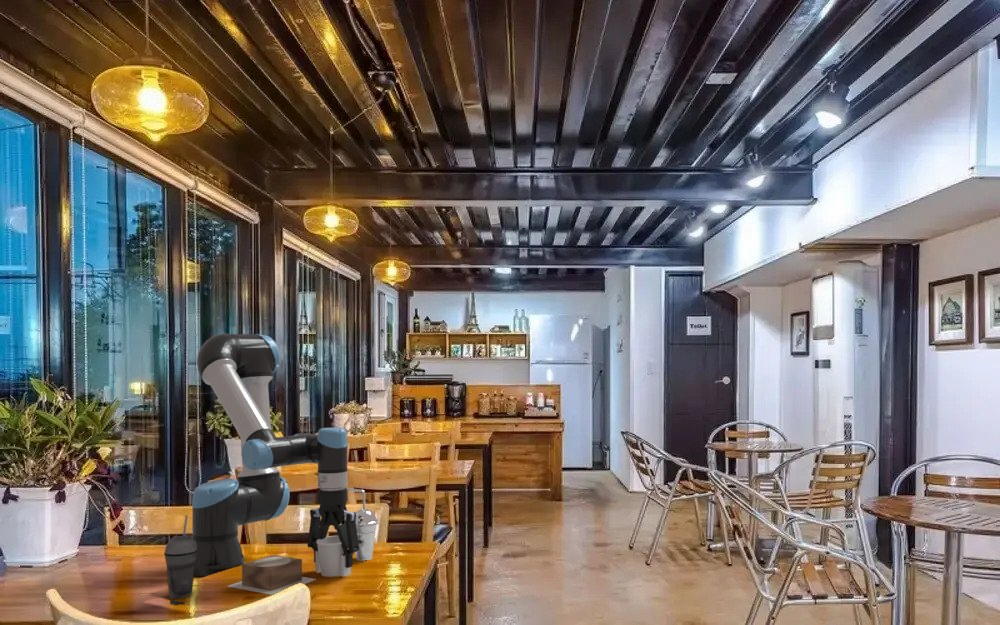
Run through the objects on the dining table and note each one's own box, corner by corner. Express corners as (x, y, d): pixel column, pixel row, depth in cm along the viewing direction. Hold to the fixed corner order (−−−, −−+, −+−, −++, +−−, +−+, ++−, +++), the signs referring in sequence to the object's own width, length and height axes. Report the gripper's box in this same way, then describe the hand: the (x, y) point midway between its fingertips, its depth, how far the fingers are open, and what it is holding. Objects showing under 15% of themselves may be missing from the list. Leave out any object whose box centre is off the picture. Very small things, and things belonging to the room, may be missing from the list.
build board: (226, 592, 181) (226, 586, 181) (270, 577, 193) (270, 571, 193) (274, 601, 173) (274, 595, 173) (316, 585, 185) (316, 579, 185)
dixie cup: (345, 583, 186) (345, 543, 187) (312, 584, 186) (312, 543, 187) (352, 574, 194) (352, 535, 195) (321, 574, 194) (321, 535, 195)
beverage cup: (170, 597, 177) (170, 512, 179) (201, 596, 178) (202, 511, 179) (158, 607, 170) (159, 519, 171) (191, 606, 171) (192, 518, 172)
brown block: (242, 585, 181) (242, 564, 181) (273, 574, 190) (273, 554, 190) (271, 590, 176) (271, 569, 176) (301, 579, 185) (301, 558, 185)
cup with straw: (370, 563, 204) (369, 490, 206) (341, 561, 207) (341, 489, 208) (384, 555, 212) (384, 485, 214) (356, 553, 215) (356, 484, 216)
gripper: (292, 487, 194) (292, 576, 192) (354, 493, 183) (354, 587, 182) (313, 483, 200) (313, 569, 199) (373, 488, 190) (374, 579, 188)
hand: (333, 577), depth 190 cm, fingers closed on dixie cup, 8 cm apart
